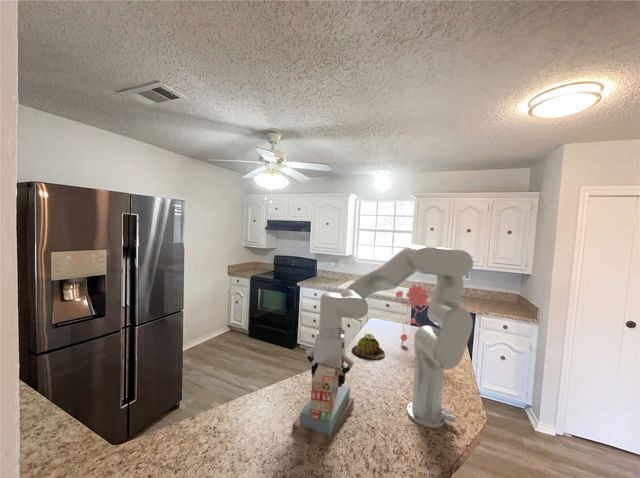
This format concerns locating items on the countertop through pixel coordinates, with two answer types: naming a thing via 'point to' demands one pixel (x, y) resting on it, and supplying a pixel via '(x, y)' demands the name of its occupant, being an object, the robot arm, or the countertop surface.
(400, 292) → the pink flower arrangement
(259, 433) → the countertop surface
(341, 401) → the tower top slab
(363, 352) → the cactus
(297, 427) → the tower base slab
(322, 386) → the stack of blocks
